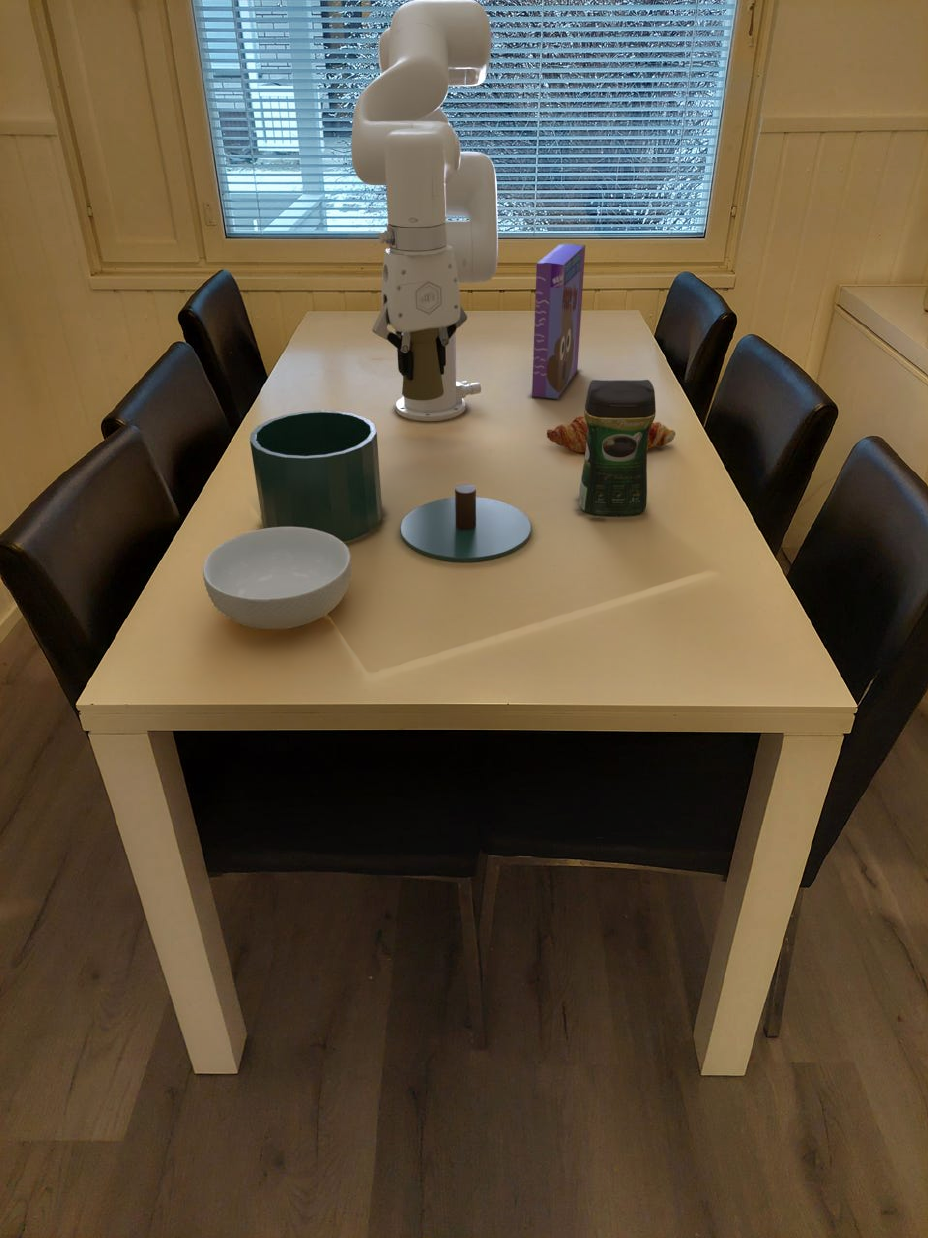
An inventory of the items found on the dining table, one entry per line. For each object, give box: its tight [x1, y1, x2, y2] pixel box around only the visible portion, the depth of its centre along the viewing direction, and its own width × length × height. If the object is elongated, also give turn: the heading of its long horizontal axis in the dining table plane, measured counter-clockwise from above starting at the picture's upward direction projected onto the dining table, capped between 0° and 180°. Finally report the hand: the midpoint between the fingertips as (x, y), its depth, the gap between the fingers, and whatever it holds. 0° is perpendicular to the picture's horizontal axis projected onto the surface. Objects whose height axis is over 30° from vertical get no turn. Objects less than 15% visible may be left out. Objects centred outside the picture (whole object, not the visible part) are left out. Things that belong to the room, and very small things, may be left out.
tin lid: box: [400, 484, 532, 563], centre depth 119 cm, size 18×18×7 cm
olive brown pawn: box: [401, 327, 444, 400], centre depth 124 cm, size 6×6×11 cm
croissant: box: [546, 415, 677, 454], centre depth 144 cm, size 21×10×8 cm, turn 94°
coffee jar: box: [578, 379, 657, 518], centre depth 122 cm, size 10×8×19 cm
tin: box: [249, 409, 383, 543], centre depth 121 cm, size 17×17×13 cm
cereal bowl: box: [202, 527, 352, 630], centre depth 103 cm, size 17×17×7 cm
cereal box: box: [531, 242, 586, 401], centre depth 165 cm, size 17×5×24 cm, turn 161°
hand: (422, 373), depth 125 cm, fingers closed on olive brown pawn, 4 cm apart
